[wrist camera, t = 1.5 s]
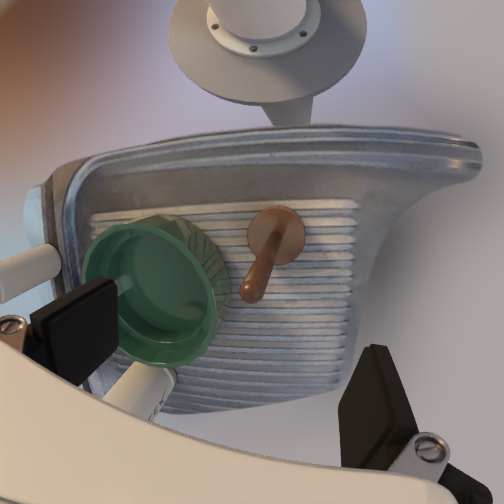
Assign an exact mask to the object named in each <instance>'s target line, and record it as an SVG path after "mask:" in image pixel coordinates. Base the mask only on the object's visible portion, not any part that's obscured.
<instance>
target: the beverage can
mask: <svg viewBox="0 0 504 504" xmlns="http://www.w3.org/2000/svg"><path fill="white" fill-rule="evenodd" d="M60 270H61V258H60V255H59V253H58V251H57V250H56V248H54V247H53V246H52V245H50V244H45V245H42V246H39V247H36V248H34V249H31V250H28V251H25V252H23V253H20V254H18V255H15V256H12V257H10V258H7V259H5V260H2V261H0V304H3V303H5V302H7V301H9V300H11V299H12V298H15V297H16V296H18V295H20V294H22V293H24V292H26V291H28V290H30V289H32V288H34V287H36V286H38V285H39V284H41V283H43V282H45V281H47V280H49V279H51V278H53V277H55V276H57V275H58V274H59V272H60Z"/></svg>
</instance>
